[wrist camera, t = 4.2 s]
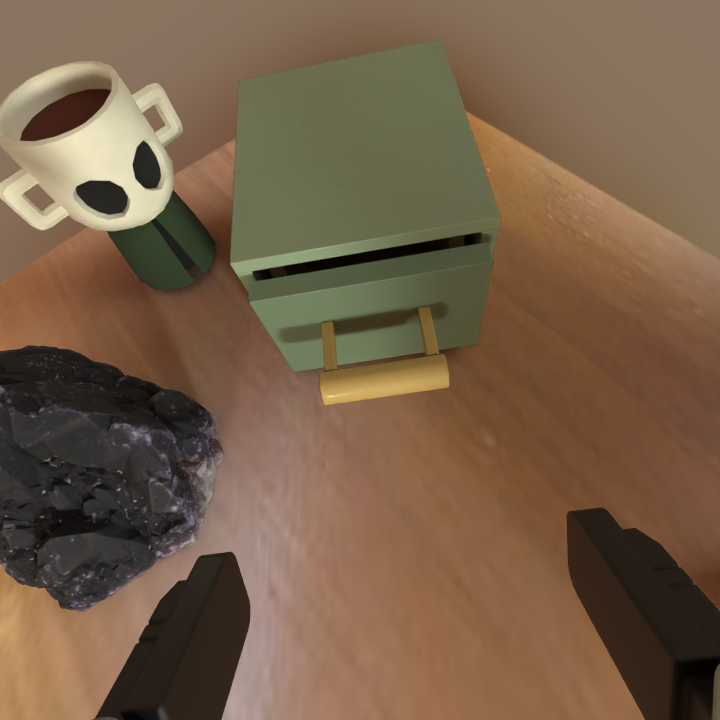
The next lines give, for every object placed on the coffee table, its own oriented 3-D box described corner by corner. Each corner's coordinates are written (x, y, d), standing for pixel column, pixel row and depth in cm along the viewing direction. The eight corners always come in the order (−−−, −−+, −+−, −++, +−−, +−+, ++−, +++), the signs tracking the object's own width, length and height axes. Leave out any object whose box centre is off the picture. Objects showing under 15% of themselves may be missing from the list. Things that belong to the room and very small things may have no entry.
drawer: (494, 412, 24) (520, 347, 18) (295, 440, 25) (245, 388, 18) (436, 188, 33) (439, 82, 26) (288, 214, 34) (252, 120, 27)
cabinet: (478, 326, 28) (501, 216, 19) (287, 356, 29) (229, 264, 20) (437, 170, 35) (441, 38, 26) (283, 199, 36) (238, 80, 27)
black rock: (231, 590, 24) (143, 568, 15) (-21, 633, 23) (-255, 634, 15) (233, 378, 31) (173, 283, 22) (40, 409, 30) (-95, 324, 22)
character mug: (147, 334, 31) (-15, 192, 20) (100, 283, 34) (-65, 133, 23) (260, 240, 34) (175, 67, 22) (208, 200, 37) (109, 28, 25)
